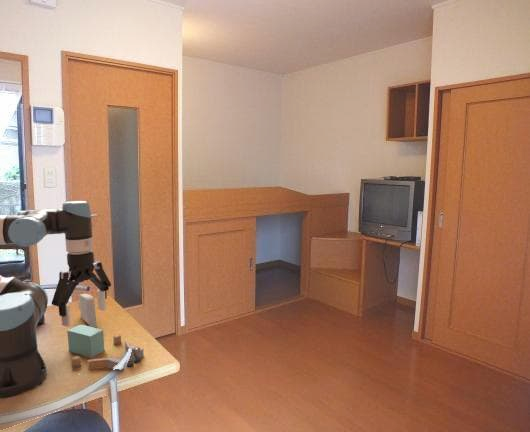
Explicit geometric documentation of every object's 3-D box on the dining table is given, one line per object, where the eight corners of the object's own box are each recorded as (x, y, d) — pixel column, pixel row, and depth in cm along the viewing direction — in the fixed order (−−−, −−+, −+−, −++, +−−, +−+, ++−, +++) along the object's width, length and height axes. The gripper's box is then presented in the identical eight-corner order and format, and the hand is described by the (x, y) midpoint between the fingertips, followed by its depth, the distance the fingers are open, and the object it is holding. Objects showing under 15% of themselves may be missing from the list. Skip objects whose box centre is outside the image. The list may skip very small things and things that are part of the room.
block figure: (108, 378, 109) (108, 370, 109) (70, 366, 115) (69, 359, 115) (153, 349, 126) (152, 342, 125) (117, 340, 132) (117, 334, 131)
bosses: (130, 368, 114) (129, 355, 114) (125, 366, 115) (124, 354, 115) (142, 360, 119) (141, 348, 118) (137, 359, 120) (136, 346, 119)
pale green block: (91, 357, 121) (90, 336, 120) (68, 351, 125) (67, 330, 124) (104, 350, 125) (103, 329, 124) (82, 344, 129) (80, 324, 128)
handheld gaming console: (87, 319, 155) (97, 327, 143) (80, 321, 153) (89, 329, 141) (84, 291, 154) (94, 296, 142) (77, 293, 153) (86, 298, 141)
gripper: (51, 262, 108) (58, 335, 111) (119, 244, 130) (123, 305, 133) (33, 259, 111) (40, 330, 114) (103, 242, 133) (107, 302, 136)
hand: (85, 317), depth 124 cm, fingers open, 13 cm apart
